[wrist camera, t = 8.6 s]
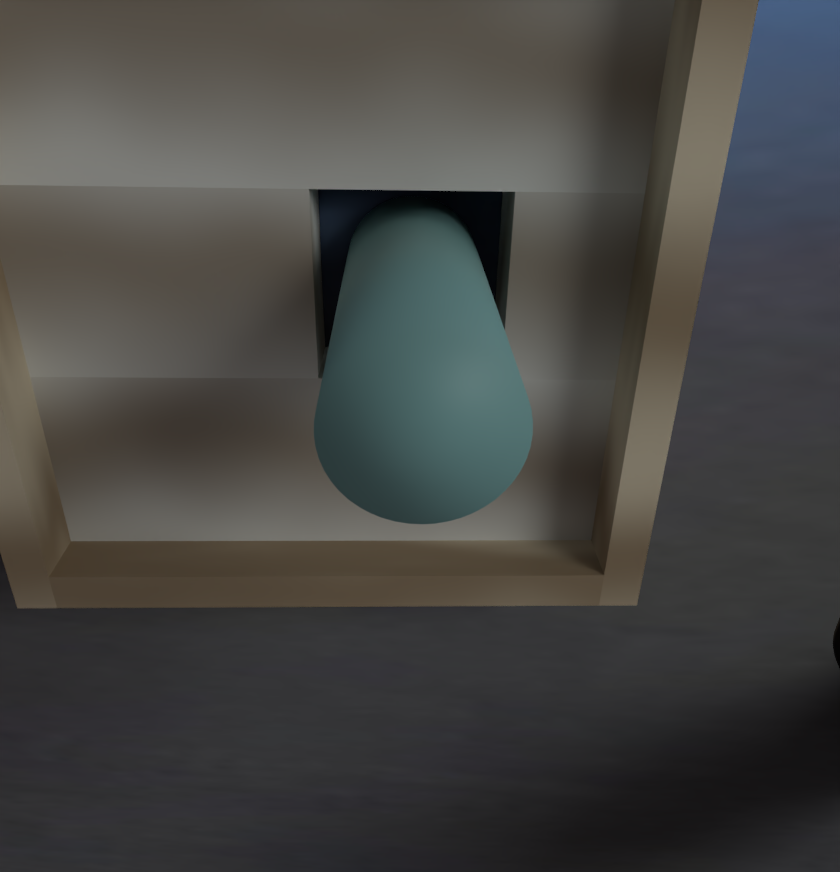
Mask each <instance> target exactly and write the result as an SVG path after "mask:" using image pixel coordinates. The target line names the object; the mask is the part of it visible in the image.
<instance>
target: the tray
mask: <svg viewBox="0 0 840 872" xmlns="http://www.w3.org/2000/svg"><path fill="white" fill-rule="evenodd" d="M758 1H759V0H0V553H1V557H2V560H3V563H4V566H5V570H6V573H7V576H8V579H9V583H10V586H11V589H12V592H13V596H14V599H15V602H16V605H17V608H186V607H388V606H591V605H637V602H638V597H639V592H640V587H641V582H642V577H643V572H644V567H645V562H646V557H647V552H648V547H649V542H650V537H651V532H652V527H653V522H654V517H655V512H656V507H657V503H658V498H659V493H660V488H661V483H662V478H663V473H664V468H665V463H666V458H667V453H668V448H669V443H670V438H671V433H672V428H673V423H674V418H675V413H676V408H677V403H678V398H679V393H680V388H681V383H682V378H683V373H684V368H685V364H686V359H687V354H688V349H689V344H690V339H691V334H692V329H693V324H694V319H695V314H696V309H697V304H698V299H699V294H700V289H701V284H702V279H703V274H704V269H705V264H706V259H707V254H708V249H709V244H710V239H711V234H712V229H713V224H714V220H715V215H716V210H717V205H718V200H719V195H720V190H721V185H722V180H723V175H724V170H725V165H726V160H727V155H728V150H729V145H730V140H731V135H732V130H733V125H734V120H735V115H736V110H737V105H738V100H739V95H740V90H741V85H742V80H743V76H744V71H745V66H746V61H747V56H748V51H749V46H750V41H751V36H752V31H753V26H754V21H755V16H756V11H757V6H758ZM318 189H346V190H422V191H498V192H503V194H502V208H501V223H500V238H499V252H498V267H497V282H496V296H495V304H496V306H497V309H498V312H499V315H500V318H501V321H502V324H503V327H504V329H505V332H506V335H507V338H508V341H509V344H510V347H511V350H512V352H513V355H514V358H515V361H516V364H517V367H518V370H519V373H520V375H521V378H522V381H523V384H524V387H525V390H526V393H527V396H528V399H529V402H530V406H531V410H532V418H533V436H532V441H531V447H530V450H529V453H528V456H527V459H526V461H525V463H524V465H523V467H522V469H521V471H520V473H519V474H518V476H517V477H516V479H515V480H514V481H513V483H512V484H511V485H510V486H509V487H508V488H507V489H506V491H504V492H503V493H502V494H501V495H500V496H499V497H498V498H497V499H495V500H494V501H493V502H491V503H490V504H488V505H487V506H485V507H484V508H482V509H480V510H478V511H476V512H474V513H472V514H470V515H467V516H465V517H462V518H459V519H455V520H452V521H448V522H442V523H436V524H407V523H401V522H395V521H391V520H388V519H384V518H381V517H379V516H376V515H374V514H371V513H369V512H367V511H365V510H364V509H362V508H360V507H358V506H357V505H355V504H354V503H353V502H351V501H350V500H348V499H347V498H346V497H345V496H344V495H343V494H342V493H341V492H340V491H339V490H338V489H337V488H336V487H335V486H334V484H333V483H332V482H331V481H330V479H329V478H328V476H327V474H326V473H325V471H324V469H323V467H322V465H321V463H320V460H319V458H318V454H317V451H316V447H315V440H314V418H315V412H316V407H317V402H318V397H319V392H320V387H321V382H322V377H323V372H324V367H325V363H326V358H327V353H328V348H329V347H325V333H324V311H323V288H322V266H321V244H320V221H319V199H318Z"/></svg>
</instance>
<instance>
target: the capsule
mask: <svg viewBox="0 0 840 872" xmlns="http://www.w3.org/2000/svg"><path fill="white" fill-rule="evenodd" d="M532 436H533V418H532V410H531V406H530V402H529V399H528V396H527V393H526V390H525V387H524V384H523V381H522V378H521V375H520V373H519V370H518V367H517V364H516V361H515V358H514V355H513V352H512V350H511V347H510V344H509V341H508V338H507V335H506V332H505V329H504V327H503V324H502V321H501V318H500V315H499V312H498V309H497V306H496V304H495V301H494V298H493V295H492V292H491V289H490V286H489V283H488V280H487V278H486V275H485V272H484V269H483V266H482V263H481V260H480V257H479V255H478V252H477V249H476V246H475V243H474V240H473V237H472V235H471V233H470V230H469V229H468V227H467V225H466V224H465V222H464V221H463V220H462V219H461V217H460V216H459V215H458V214H457V213H456V212H455V211H454V210H452V209H451V208H450V207H448V206H447V205H445V204H443V203H441V202H439V201H437V200H434V199H432V198H428V197H423V196H402V197H396V198H393V199H390V200H387V201H385V202H383V203H381V204H379V205H378V206H376V207H375V208H373V209H372V210H371V211H370V212H369V213H368V214H366V215H365V217H364V218H363V219H362V220H361V221H360V223H359V224H358V226H357V227H356V229H355V231H354V233H353V236H352V238H351V242H350V245H349V250H348V255H347V260H346V265H345V270H344V275H343V279H342V284H341V289H340V294H339V299H338V304H337V309H336V314H335V319H334V323H333V328H332V333H331V338H330V343H329V348H328V353H327V358H326V363H325V367H324V372H323V377H322V382H321V387H320V392H319V397H318V402H317V407H316V412H315V418H314V440H315V447H316V451H317V454H318V458H319V460H320V463H321V465H322V467H323V469H324V471H325V473H326V474H327V476H328V478H329V479H330V481H331V482H332V483H333V484H334V486H335V487H336V488H337V489H338V490H339V491H340V492H341V493H342V494H343V495H344V496H345V497H346V498H347V499H348V500H350V501H351V502H353V503H354V504H355V505H357V506H358V507H360V508H362V509H364V510H365V511H367V512H369V513H371V514H374V515H376V516H379V517H381V518H384V519H388V520H391V521H395V522H401V523H407V524H436V523H442V522H448V521H452V520H455V519H459V518H462V517H465V516H467V515H470V514H472V513H474V512H476V511H478V510H480V509H482V508H484V507H485V506H487V505H488V504H490V503H491V502H493V501H494V500H495V499H497V498H498V497H499V496H500V495H501V494H502V493H503V492H504V491H506V489H507V488H508V487H509V486H510V485H511V484H512V483H513V481H514V480H515V479H516V477H517V476H518V474H519V473H520V471H521V469H522V467H523V465H524V463H525V461H526V459H527V456H528V453H529V450H530V447H531V441H532Z"/></svg>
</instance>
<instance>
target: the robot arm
mask: <svg viewBox="0 0 840 872" xmlns="http://www.w3.org/2000/svg"><path fill="white" fill-rule="evenodd" d="M833 649H834V654H835V658H836V661H837V663H838V666H839V668H840V618H839V621H838V624H837V626H836V629H835V632H834V637H833Z"/></svg>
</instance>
